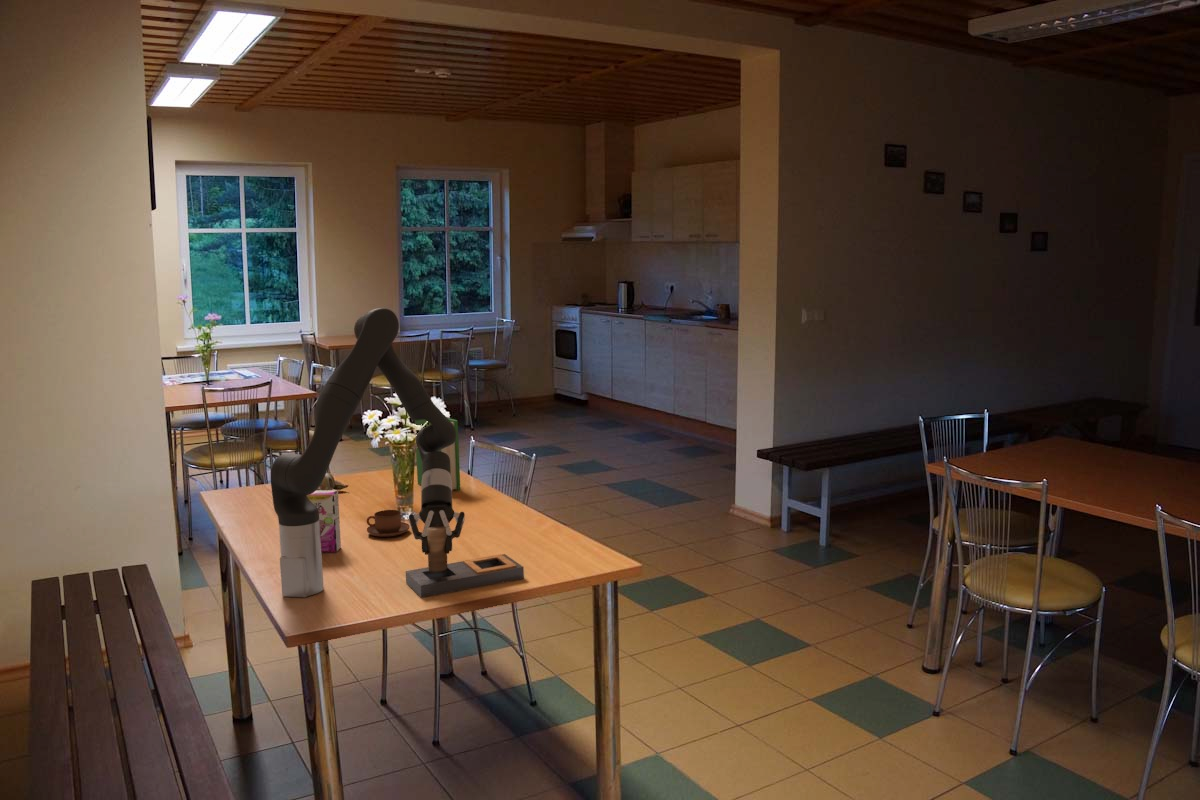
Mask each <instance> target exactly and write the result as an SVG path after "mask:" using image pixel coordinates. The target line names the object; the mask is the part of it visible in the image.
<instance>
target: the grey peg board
mask: <svg viewBox="0 0 1200 800" xmlns="http://www.w3.org/2000/svg"><path fill="white" fill-rule="evenodd" d="M524 578H525V571H524V565H521V564H520V563H518V562H517V561H516V560H514V559H513V558H511V557H510V556H508V555H507V554H505V553H502V554H501V553H500V554H495V555H489V556H483V557H477V558H472V559H466V560H461V561H455V562H451V563H447V569H446V570H444V571H439V572H433V571H429V569H428V566H427V567H420V568H416V569H415V568H414V569H409V570H405V583H406V585H408V586H409V588H410V589H412V590H413V591H414V593H416V594H417V595H418V596H419V597H420V598H421V599H423V598H428V597H433V596H440V595H444V594H449V593H454V592H455V593H456V592H460V591H465V590H466V591H467V590H471V589H476V588H482V587H486V586H493V585H497V584H504V583H507V582H514V581H519V580H524Z"/></svg>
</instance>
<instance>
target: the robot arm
mask: <svg viewBox="0 0 1200 800" xmlns="http://www.w3.org/2000/svg"><path fill="white" fill-rule="evenodd" d="M399 328H400V322H399V319H398V317H397V314H396V313H395V312H394V311H393V310H391V309H389V308H386V307H378V308H374V309H371V310H368V312H366V313H365V314H363V315H361V316H360V317H359V318H358V319H356V322H355V323H354V329H353V331H354V336H355V338H356V341H355V344H354V345H353V347H352V349H351V350H350V352H349V353H348V355H347V356H346V357H345V358H344V359H343V360H342V361H341V363H340V364H339V365H338V366H337V368H336V369H335V370H334V371H333V373H332V374H331V375H330V376H329V378H328V379H327V381H326V383H325V384H324V387H323V388H322V390H321V391H320V393H319V395H318V398H317V400H316V401H315V402H316V403H315V406H314V431H313V435H312V437H311V439H310V441H309V443H308V444H307V447H306V448H305V450H304V452H302V454H299V453H293V452H292V453H290V452H288V453H287V452H285V453H283V454H281V455H278V456H277V457H276V458H275V460H274V461H273V463H272V466H271V469H270V486H271V494H272V503H273V508H274V512H275V514H276V516H277V519H278V520H277V521H278V531H279V533H278V535H279V547H280V558H279V568H280V580H281V581H280V582H281V583H280V584H281V597H291V598H292V597H293V598H308V597H310V596H313V595H316V594H319V593H320V592H323V590H324V588H325V587H324V571H323V557H322V555H323V554H322V553H321V539H320V523H319V510H318V508H317V507H316V506H315V505H314V504H313V503H312V502H311V501H310V500H309V499H308V497H307V495H309V494H312V493H313V492H315V491H316V490H317V489H318V488H319V486H320V485H321V483H322V481H323V479H324V477H325V475H326V472H327V471H328V469H329V466H330V464H331V462H332V459H333V457H334V454H335V452H336V450H337V447H338V446H339V443H340V440H341V439H342V437H343V435H344V433H345V431H346V429H347V427H348V425H349V423H350V421H351V419H352V418H353V416H354V414H355V412H356V411H357V409H358V407H359V405H360V403H361V401H362V399H363V397H364V394H365V392H366V391H367V388H368V387H369V384H370V383H371V380H372V378H373V376H374V373H375V371H376V369H377V367H378V369H379V370H380V371H381V373H382V374H383V376H384V377H385V379H386V380H387V381H388V383H389V384H390V386H391V387H392V389H393V391H394V392H395V394H396V396H397V398H398V400H399V401H400V403H401V405H402V406H403V409H404V410H405V412H406V414H407V415H408V417H409V419H411V421H414V422H415V421H418V420H427V421H428V422H429V423H431V425H429V426H427V427H424V428H422V429H421V430H420V431H419V432H418V433H417V436H416V437H415V445H416V444H417V447H418V450H419V453H420V457H421V460H422V464H423V466H422V483H421V485H420V486H421V487H420V489H421V490H420V492H421V493H420V494H421V497H420V499H421V505H420V506H421V507H420V511H419V513H417V514H412V513H409V514H408V521H409V526H410V528H411V531H412V535H413V537H414V539H415V540H419V541H421V552H422V553H424V555H427V556H428V540H427V528H428V527H431V526H444V527H446V554H447V555H449V554H450V552H452V551H453V539H458V538H459V537H461V533H462V529H463V526H464V523H465V514H466V513H465V512H464V511H460V512H456V511H455V510H454V509H453V489H452V481H451V466H450V458H449V456H448V455H447V454H446V453H444V452H440V451H439V450H441V449H443V448H445V447H448V446H450V445H452V444H453V443H454V442H455V441H456V438H457V433H456V429H455V427H454V425H453V424H452V422H451V421H450V420H449V419H448V418H449V417H447V416H446V415H445V414H444V413H443V412H442V411H441V410H440V409H439V407H437V406H436V405H435V404H434V402H433V399H432V398H431V397H430V395H429V393H428V392H427V390H426V388H425V386H424V384H423V382H421V380H420V379H419V377H418V375H417V376H416V374H415V373H414V372H413V371H412V370H411V369H410V368H409V367H408V366H407V365H406V364H405V363H404V362H403V360H402V359H401V358H400V356H399V355H398V353H397V352H396V350H395V348H394V347H393V344H392V343H394V341H395V339H396V338H397V336H398V334H399V330H400V329H399ZM327 473H328V472H327ZM453 519H455V522H456V524H455V528H454V529H453V530H452V529H451V526H450V522H451V521H452V520H453ZM419 520H420V521H422V523H423V524H424V525H423V529H422V531H419V527H418V525H417V524H419Z"/></svg>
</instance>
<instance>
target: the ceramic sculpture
mask: <svg viewBox="0 0 1200 800" xmlns="http://www.w3.org/2000/svg"><path fill="white" fill-rule="evenodd" d="M348 487H349V485H348V484H344V483H342V482H341V481H339V480H336V479H335V477H334V476H333V475H332V473H331V472H326V475H325V477H324V479H323V481H322V483H321V485H320V486H319V488H318V489H317V490H338V491H340V490H343V489H346V488H348ZM317 490H316V491H317Z"/></svg>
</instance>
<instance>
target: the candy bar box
mask: <svg viewBox="0 0 1200 800" xmlns="http://www.w3.org/2000/svg"><path fill="white" fill-rule="evenodd" d="M307 497H308V499H309V500H310V501H311V502H312V503H313V504H314V505H315V506H316V507H317V508H318V510H319V523H320V539H321V554H322V553H338V551H339V550H340V549H341V548H342V543H341V542H342V541H341V539H342V538H341V525H340V523H341V522H340V507H339V506H340V505H339V490H335V489H333V490H317V491H315V492H313V493H312V494H309V495H307Z"/></svg>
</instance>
